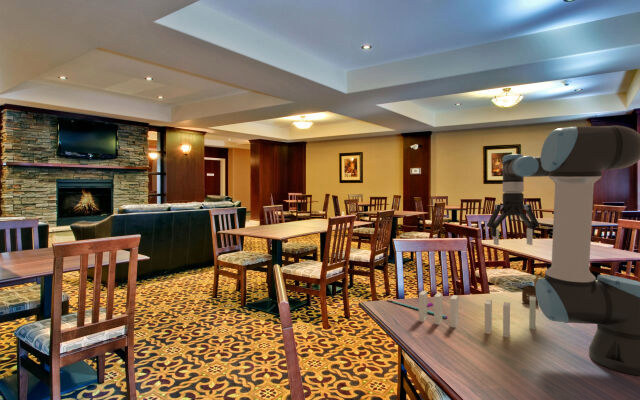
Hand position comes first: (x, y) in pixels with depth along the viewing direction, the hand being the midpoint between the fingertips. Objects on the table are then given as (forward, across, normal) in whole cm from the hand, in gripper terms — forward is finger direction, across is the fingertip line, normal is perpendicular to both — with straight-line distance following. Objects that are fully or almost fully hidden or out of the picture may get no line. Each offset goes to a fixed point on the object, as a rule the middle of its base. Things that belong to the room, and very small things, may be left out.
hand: (512, 244), depth 144 cm
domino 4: (+26, +22, +25) cm, 42 cm away
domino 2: (+26, +36, +16) cm, 47 cm away
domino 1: (+26, +40, +14) cm, 50 cm away
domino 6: (+26, +4, +21) cm, 34 cm away
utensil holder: (+26, -11, -6) cm, 29 cm away
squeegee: (+27, +37, -1) cm, 46 cm away
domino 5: (+26, +17, +27) cm, 41 cm away
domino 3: (+26, +31, +19) cm, 45 cm away
